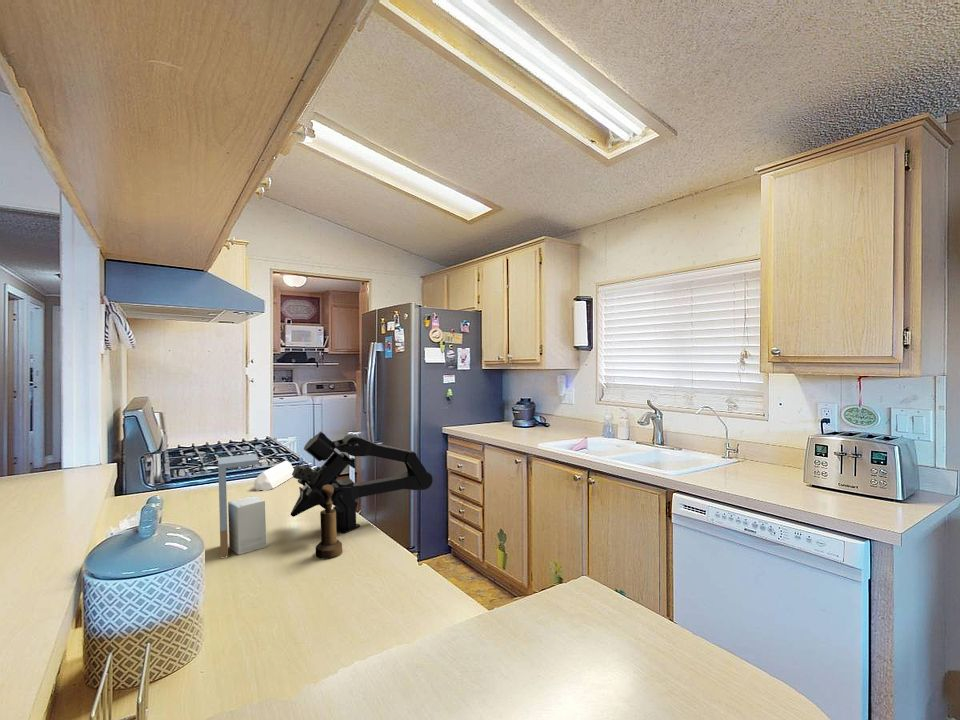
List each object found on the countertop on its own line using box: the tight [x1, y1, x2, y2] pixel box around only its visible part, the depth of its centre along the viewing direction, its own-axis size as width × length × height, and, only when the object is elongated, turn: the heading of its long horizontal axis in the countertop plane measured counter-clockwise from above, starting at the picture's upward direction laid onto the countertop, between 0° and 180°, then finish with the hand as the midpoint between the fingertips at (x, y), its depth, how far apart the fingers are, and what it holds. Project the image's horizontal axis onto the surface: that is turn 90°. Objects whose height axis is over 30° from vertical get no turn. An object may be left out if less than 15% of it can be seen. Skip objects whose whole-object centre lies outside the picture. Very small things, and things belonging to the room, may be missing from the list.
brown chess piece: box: [315, 484, 343, 560], centre depth 125 cm, size 7×6×18 cm
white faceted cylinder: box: [253, 460, 295, 491], centre depth 195 cm, size 7×7×24 cm
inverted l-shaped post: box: [217, 453, 260, 558], centre depth 129 cm, size 9×9×24 cm
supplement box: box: [227, 495, 267, 555], centre depth 130 cm, size 7×7×13 cm
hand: (291, 515), depth 136 cm, fingers closed
